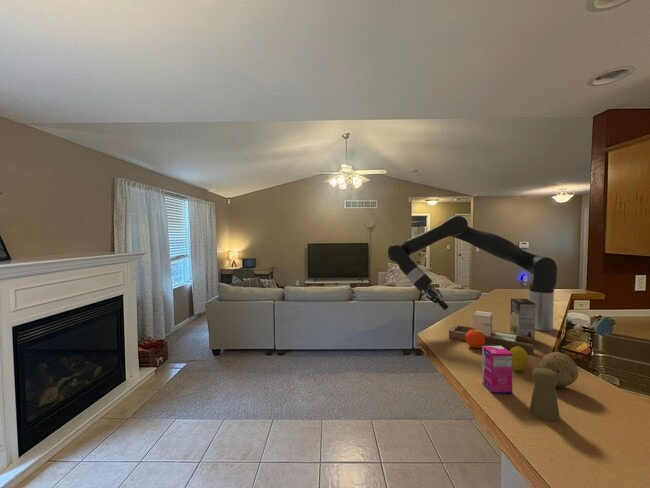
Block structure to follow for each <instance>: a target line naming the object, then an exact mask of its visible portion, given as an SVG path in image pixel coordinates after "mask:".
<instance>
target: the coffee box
mask: <svg viewBox="0 0 650 488" xmlns="http://www.w3.org/2000/svg"><path fill="white" fill-rule="evenodd" d="M535 310H536V304H535V303H533V302H532V301H530V300H529V298H528V299H527V298H513V297H511V298H510V312H509V313H510V315H509V316H510V317H509V320H510V322H509V325H510V326H509V333H510V334H516V335H523V336H529V337H535V336H536V329H535Z"/></svg>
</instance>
